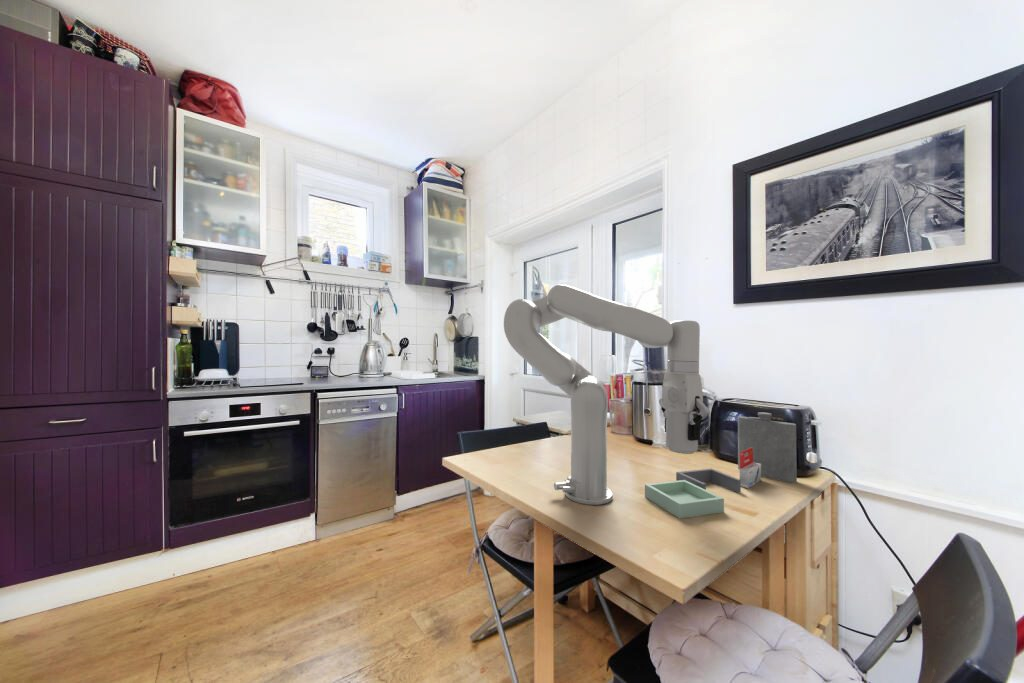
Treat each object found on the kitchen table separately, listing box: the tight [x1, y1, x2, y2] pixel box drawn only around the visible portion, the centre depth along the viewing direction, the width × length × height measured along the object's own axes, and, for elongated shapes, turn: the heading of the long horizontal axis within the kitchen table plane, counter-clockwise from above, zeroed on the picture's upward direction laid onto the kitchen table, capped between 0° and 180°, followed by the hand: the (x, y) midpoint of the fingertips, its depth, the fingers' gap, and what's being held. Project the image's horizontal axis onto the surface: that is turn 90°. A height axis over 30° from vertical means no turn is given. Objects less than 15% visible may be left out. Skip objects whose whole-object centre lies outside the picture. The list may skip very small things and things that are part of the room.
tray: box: [644, 480, 725, 519], centre depth 92 cm, size 13×13×3 cm
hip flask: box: [737, 411, 798, 484], centre depth 115 cm, size 16×4×20 cm, turn 36°
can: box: [665, 405, 699, 455], centre depth 93 cm, size 8×8×12 cm
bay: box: [675, 468, 742, 494], centre depth 103 cm, size 13×10×4 cm
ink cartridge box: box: [739, 447, 762, 489], centre depth 108 cm, size 2×11×10 cm, turn 129°
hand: (681, 435), depth 93 cm, fingers closed on can, 7 cm apart
